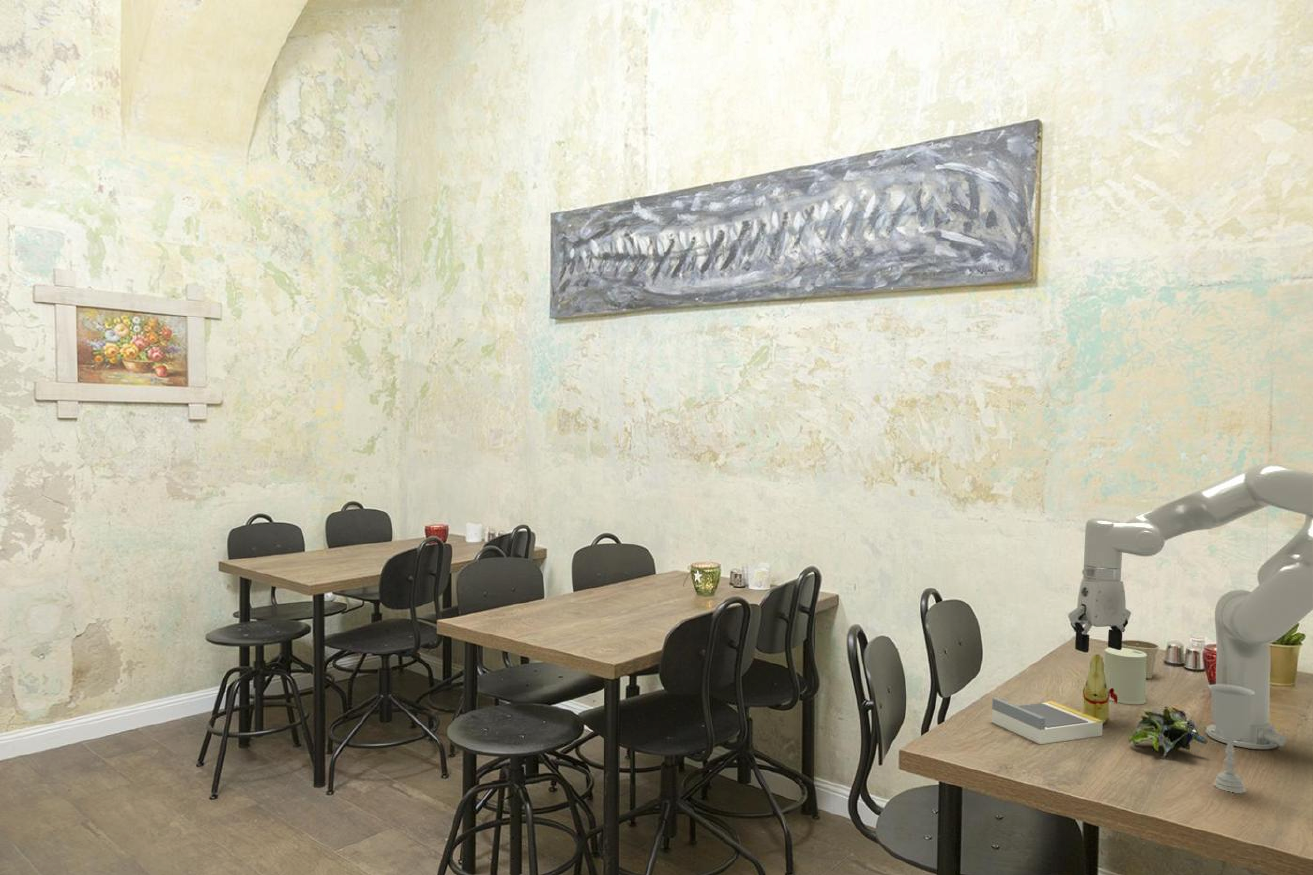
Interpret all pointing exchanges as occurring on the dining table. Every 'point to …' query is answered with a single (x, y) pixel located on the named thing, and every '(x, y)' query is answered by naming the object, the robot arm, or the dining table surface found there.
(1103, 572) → the robot arm
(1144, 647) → the flower pot
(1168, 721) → the leafy plant
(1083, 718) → the dock
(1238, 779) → the chalice
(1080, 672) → the dining table surface
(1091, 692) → the chocolate bunny
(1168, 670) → the dining table surface
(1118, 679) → the can
